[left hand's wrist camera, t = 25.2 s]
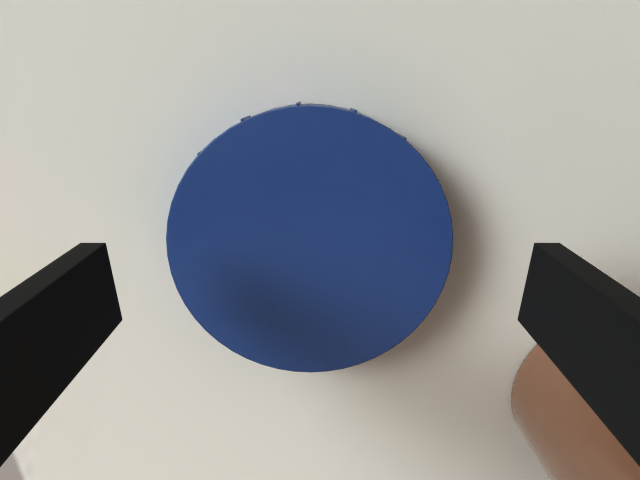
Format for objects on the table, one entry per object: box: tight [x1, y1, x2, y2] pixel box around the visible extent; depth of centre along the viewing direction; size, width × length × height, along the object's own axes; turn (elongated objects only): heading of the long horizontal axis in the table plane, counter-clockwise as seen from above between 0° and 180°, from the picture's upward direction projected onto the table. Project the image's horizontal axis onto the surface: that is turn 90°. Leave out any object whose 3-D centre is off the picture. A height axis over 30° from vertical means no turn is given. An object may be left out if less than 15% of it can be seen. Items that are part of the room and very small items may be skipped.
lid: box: [166, 102, 453, 372], centre depth 17 cm, size 11×11×2 cm
